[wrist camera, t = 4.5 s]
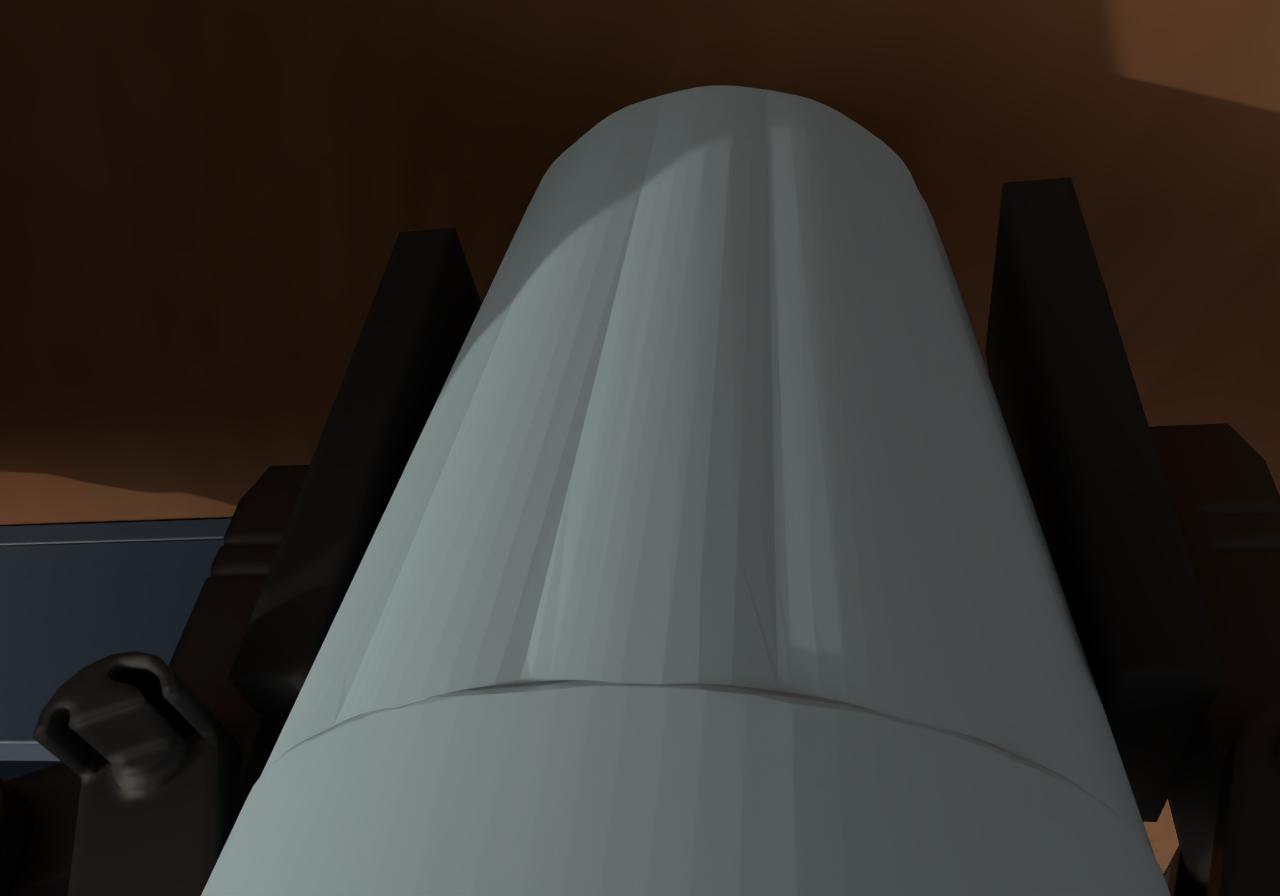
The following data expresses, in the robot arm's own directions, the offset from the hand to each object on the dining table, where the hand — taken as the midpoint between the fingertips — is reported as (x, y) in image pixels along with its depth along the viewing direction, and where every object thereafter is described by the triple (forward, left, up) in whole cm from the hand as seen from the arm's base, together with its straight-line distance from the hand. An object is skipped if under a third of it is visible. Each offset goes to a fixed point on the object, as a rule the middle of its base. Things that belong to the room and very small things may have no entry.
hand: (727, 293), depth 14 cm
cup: (0, 0, -1) cm, 1 cm away
